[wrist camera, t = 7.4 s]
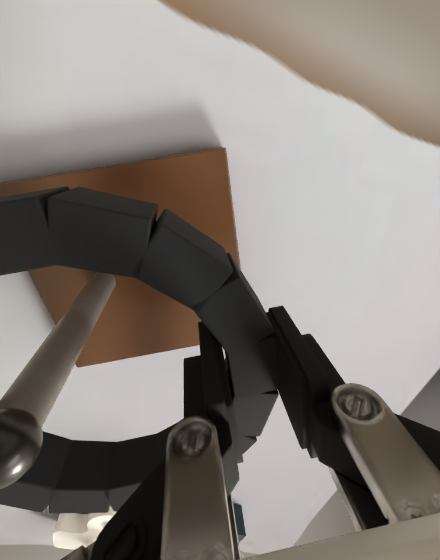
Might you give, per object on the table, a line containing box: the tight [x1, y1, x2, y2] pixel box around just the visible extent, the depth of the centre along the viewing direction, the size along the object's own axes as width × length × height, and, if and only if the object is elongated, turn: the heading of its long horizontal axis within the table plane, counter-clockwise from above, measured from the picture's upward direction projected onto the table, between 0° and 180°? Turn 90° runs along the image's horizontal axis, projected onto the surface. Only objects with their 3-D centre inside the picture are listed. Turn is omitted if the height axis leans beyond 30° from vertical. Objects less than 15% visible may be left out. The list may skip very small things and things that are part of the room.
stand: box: [0, 148, 241, 489], centre depth 14 cm, size 14×14×14 cm
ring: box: [0, 186, 279, 513], centre depth 11 cm, size 14×14×2 cm
